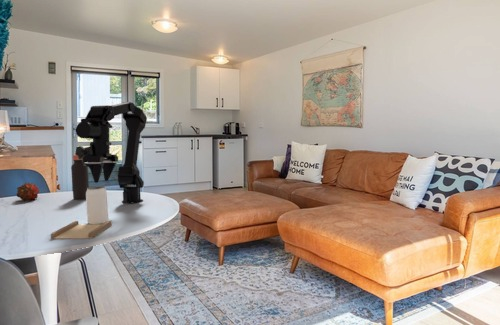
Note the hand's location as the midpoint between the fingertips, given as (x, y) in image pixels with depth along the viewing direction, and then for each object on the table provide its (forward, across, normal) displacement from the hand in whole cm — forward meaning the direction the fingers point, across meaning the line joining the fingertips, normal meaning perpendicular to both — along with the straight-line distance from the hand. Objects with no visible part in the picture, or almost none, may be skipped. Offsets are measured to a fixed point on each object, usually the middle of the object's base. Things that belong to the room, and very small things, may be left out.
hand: (101, 181), depth 133 cm
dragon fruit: (+11, -30, -45) cm, 55 cm away
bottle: (+10, -31, -22) cm, 39 cm away
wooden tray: (+14, +22, +3) cm, 27 cm away
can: (+13, +12, +4) cm, 18 cm away
